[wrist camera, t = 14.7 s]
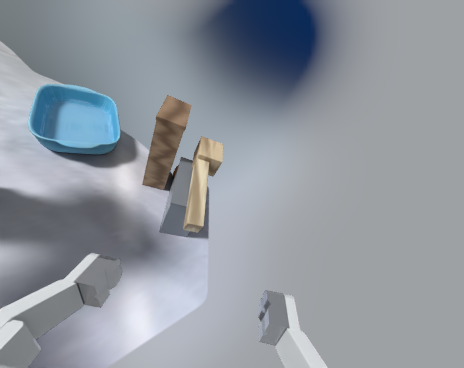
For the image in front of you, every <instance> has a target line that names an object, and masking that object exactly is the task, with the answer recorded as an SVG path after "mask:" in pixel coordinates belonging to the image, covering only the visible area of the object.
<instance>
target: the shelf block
mask: <svg viewBox="0 0 464 368" xmlns="http://www.w3.org/2000/svg"><path fill="white" fill-rule="evenodd" d="M190 109H191V105H189V104H187V103H184V102H182V101H180V100H177V99H176V98H173V97H171V96H168V95H167V97H166V99H165V101H164V103H163V105H162V106H161V108H160V110H159V112H158V114H157V116H156V125H155V130H154V134H153V138H152V143H151V147H150V152H149V156H148V161H147V165H146V170H145V175H144V179H143V184H142V185H146V186H150V187H154V188H157V189H161V190H164V188H165V185H166V182H167V179H168V176H169V173H170V170H171V167H172V164H173V161H174V158H175V155H176V152H177V150H178V147H179V144H180V141H181V138H182V135H183V131H184V130H185V129H186V125H187V121H188V117H189V113H190Z"/></svg>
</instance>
